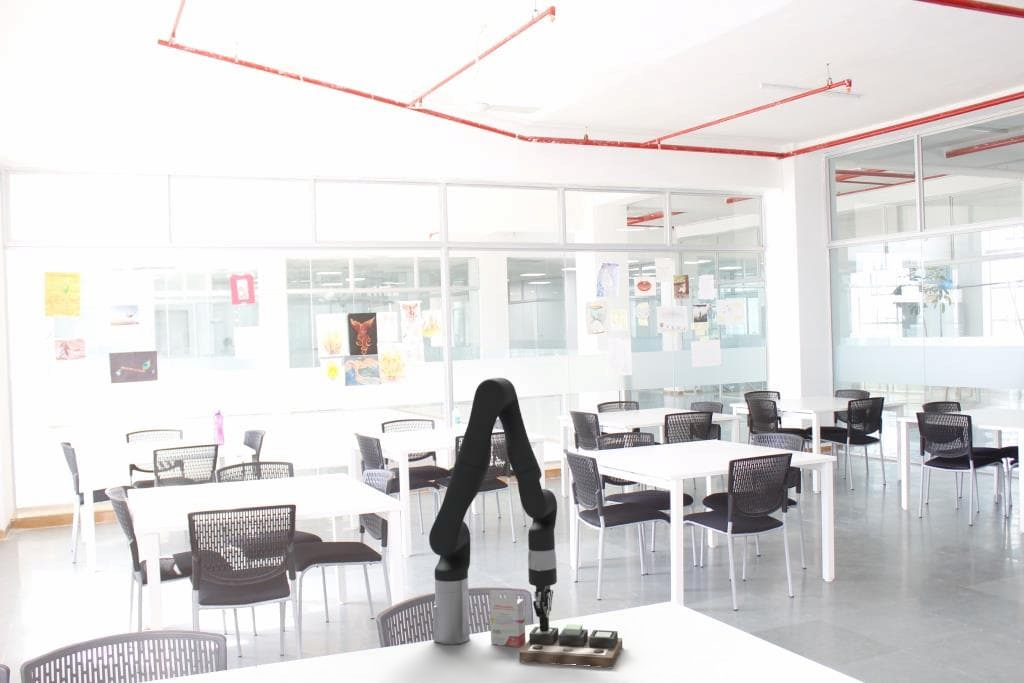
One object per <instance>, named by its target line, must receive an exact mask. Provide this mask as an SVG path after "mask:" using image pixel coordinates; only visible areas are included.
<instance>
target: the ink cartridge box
mask: <svg viewBox="0 0 1024 683" xmlns="http://www.w3.org/2000/svg"><path fill="white" fill-rule="evenodd" d="M489 595H490V597H489V598H490V599H489V600H490V601H489V610H490V611H489V612H490V613H489V615H490V617H489V618H490V643H491V645H493V644H497V645H496V646H504V645H508V646H507V647H514V646H517V647H519V648H520V647H521V646H522V645H523V644H526V643H527V642H526V640H527V639H526V621H525V620H526V618H525V616H526V615H525V600H524V599H520V598H519V599H518V591H517V592H516V591H508V590H507V591H505V590H490V594H489ZM503 595H504V596H506V597H500V596H503ZM517 647H516V648H517Z"/></svg>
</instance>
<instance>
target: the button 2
mask: <svg viewBox="0 0 1024 683" xmlns="http://www.w3.org/2000/svg"><path fill="white" fill-rule="evenodd" d="M594 637H610V638H611V637H612V632H597V633H596V635H595V636H594Z"/></svg>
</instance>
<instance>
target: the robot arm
mask: <svg viewBox="0 0 1024 683" xmlns="http://www.w3.org/2000/svg"><path fill="white" fill-rule="evenodd" d="M518 399H519V398H518V395H517V391H516V388H515V386H514V384H513V383H512V382H511V381H510V380H509V379H507V378H504V377H493V378H486V379H484V380H483V381H481V382H480V383H479V384H478V385H477V387H476V389H475V392H474V396H473V400H472V406H471V411H470V415H469V420H468V423H467V427H466V428H465V432H464V435H463V438H462V441H461V445H460V448H459V449H458V452H457V455H456V458H455V461H454V465H453V468H452V472H451V475H450V478H449V480H448V484H447V488H446V490H445V494H444V497H443V500H442V503H441V506H440V508H439V510H438V513H437V515H436V518H435V519H434V522H433V524H432V525H431V529H430V532H429V535H428V542H429V547H430V549H431V550H432V552H433V553H434V554H435V555H437V556H439V560H438V562H437V565H436V566H435V568H434V594H435V595H434V596H435V599H434V602H435V605H434V606H433V607H432V620H433V621H432V622H433V623H432V624H433V642H435V643H439V644H443V645H460V644H463V643H467V642H468V641H469V640H470V631H471V630H470V607H469V604H470V603H469V600H470V599H469V578H468V577H469V574H468V573H469V569H470V565H471V533H470V529H469V526H468V525H467V523H466V522H465V521H464V520H465V517H466V514H467V512H468V509H469V507H470V506H471V505H472V503H473V501H474V500H475V499H476V496H477V495H478V493H479V492H480V490H481V489H482V487H483V485H484V483H485V480H486V477H487V475H488V471H489V468H490V465H491V460H492V434H493V431H494V427H495V425H496V422H497V419H499V421H500V424H501V426H502V429H503V433H504V439H505V446H506V447H505V448H506V453H507V460H508V462H509V464H510V467H511V470H512V472H513V474H514V477H515V480H516V481H517V485H518V486H517V487H518V494H519V497H520V502H521V506H522V509H523V511H524V512H525V514H526V515H527V516H528V517H529V518H531V519H532V523H531V526H530V527H529V529H528V533H527V535H528V536H527V541H528V554H527V564H528V566H527V569H528V583H529V585H531V586H534V587H535V591H534V594H533V596H534V599H535V600H533V603H532V605H533V608H534V612H535V616H536V617H537V618H539V627H540V631H545V632H547V631H548V630H549V627H550V615H551V612H552V605H553V598H554V596H553V595H554V590H553V589H551V586H553V585H556V584H557V582H558V575H557V573H558V571H557V555H556V548H555V547H556V544H555V543H556V542H555V528H556V524H557V523H556V521H557V514H558V501H557V499H556V496H555V494H554V493H553V492H552V491H551V490H550V489H547V488H542V484H541V482H540V480H541V478H542V476H543V475H542V470H541V467H540V464H539V463H538V460H537V457H536V455H535V452H534V450H533V447H532V444H531V442H530V438H529V436H528V434H527V430H526V427H525V423H524V419H523V416H522V411H521V408H520V403H519V400H518Z"/></svg>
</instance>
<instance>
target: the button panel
mask: <svg viewBox="0 0 1024 683" xmlns="http://www.w3.org/2000/svg"><path fill="white" fill-rule="evenodd" d="M538 628H540V626H534V628H533V629H532V630H531V631H530V633H529V637H528V638H529V639H528V641H527V642H525V645H524V646H523V647H522V648H521V649H520V651H519V662H520V661H524V662H523V663H530V662H537V663H536V664H546V663H556V664H555V665H561V664H576V665H590V666H589V667H591V666H601V667H600V668H606V667H613V668H614V666H613V665H615V664H616V662H615V661H617V660H616V659H618V658H617V657H619V656H618V655H620V654H621V652H620V651H622V650H623V638H622V637H618V634H619V633H618V631H617V630H603V629H600V630H599V629H593V630H592V632H591V633H590V635H589V632H588V631H589V630H588V629H584V628H582V634H581V636H575V635H564V628H563V629H562V630H561V632H560V631H559V627H550V626H549V629H553V632H552V633H551V634H540V633H535V632H536V630H537V629H538ZM559 632H560V633H559ZM597 632H612V637H611V638H610V637H594V636H595V635H596V633H597ZM621 649H622V650H621ZM619 653H620V654H619ZM558 663H559V664H558ZM614 663H615V664H614ZM576 665H575V666H576Z"/></svg>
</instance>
